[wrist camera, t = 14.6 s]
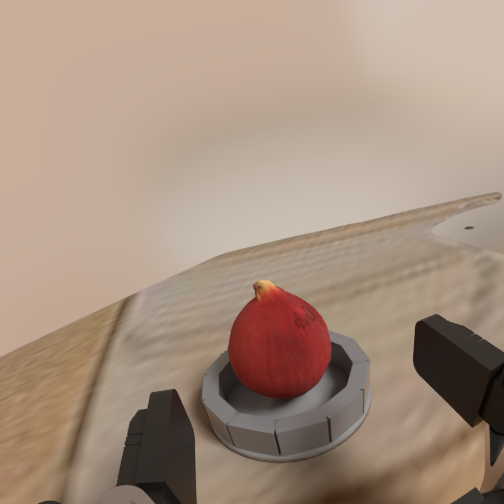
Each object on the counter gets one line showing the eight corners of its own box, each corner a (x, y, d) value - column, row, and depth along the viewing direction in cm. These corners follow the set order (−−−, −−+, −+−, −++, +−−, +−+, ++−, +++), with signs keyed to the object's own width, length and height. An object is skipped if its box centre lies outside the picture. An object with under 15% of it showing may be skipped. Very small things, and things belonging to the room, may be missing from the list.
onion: (308, 358, 22) (293, 254, 20) (352, 401, 16) (345, 276, 14) (232, 387, 20) (203, 279, 18) (261, 441, 15) (226, 316, 13)
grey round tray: (276, 494, 12) (268, 469, 11) (184, 401, 20) (173, 374, 19) (402, 384, 17) (404, 354, 16) (295, 340, 25) (291, 314, 25)
